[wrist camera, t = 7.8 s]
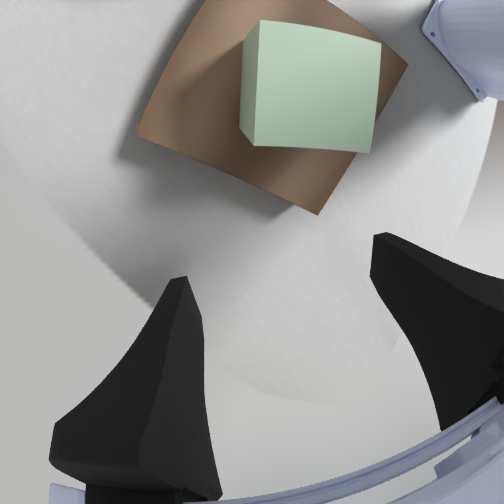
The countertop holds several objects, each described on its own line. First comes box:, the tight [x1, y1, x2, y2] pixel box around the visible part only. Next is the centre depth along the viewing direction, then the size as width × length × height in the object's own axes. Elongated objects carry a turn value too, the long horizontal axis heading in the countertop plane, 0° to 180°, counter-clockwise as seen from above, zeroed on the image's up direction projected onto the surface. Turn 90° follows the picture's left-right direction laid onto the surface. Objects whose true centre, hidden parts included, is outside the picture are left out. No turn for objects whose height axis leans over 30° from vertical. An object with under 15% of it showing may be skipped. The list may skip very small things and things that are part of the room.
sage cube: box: [239, 20, 381, 154], centre depth 12 cm, size 5×5×5 cm
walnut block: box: [134, 0, 408, 216], centre depth 15 cm, size 12×12×4 cm
